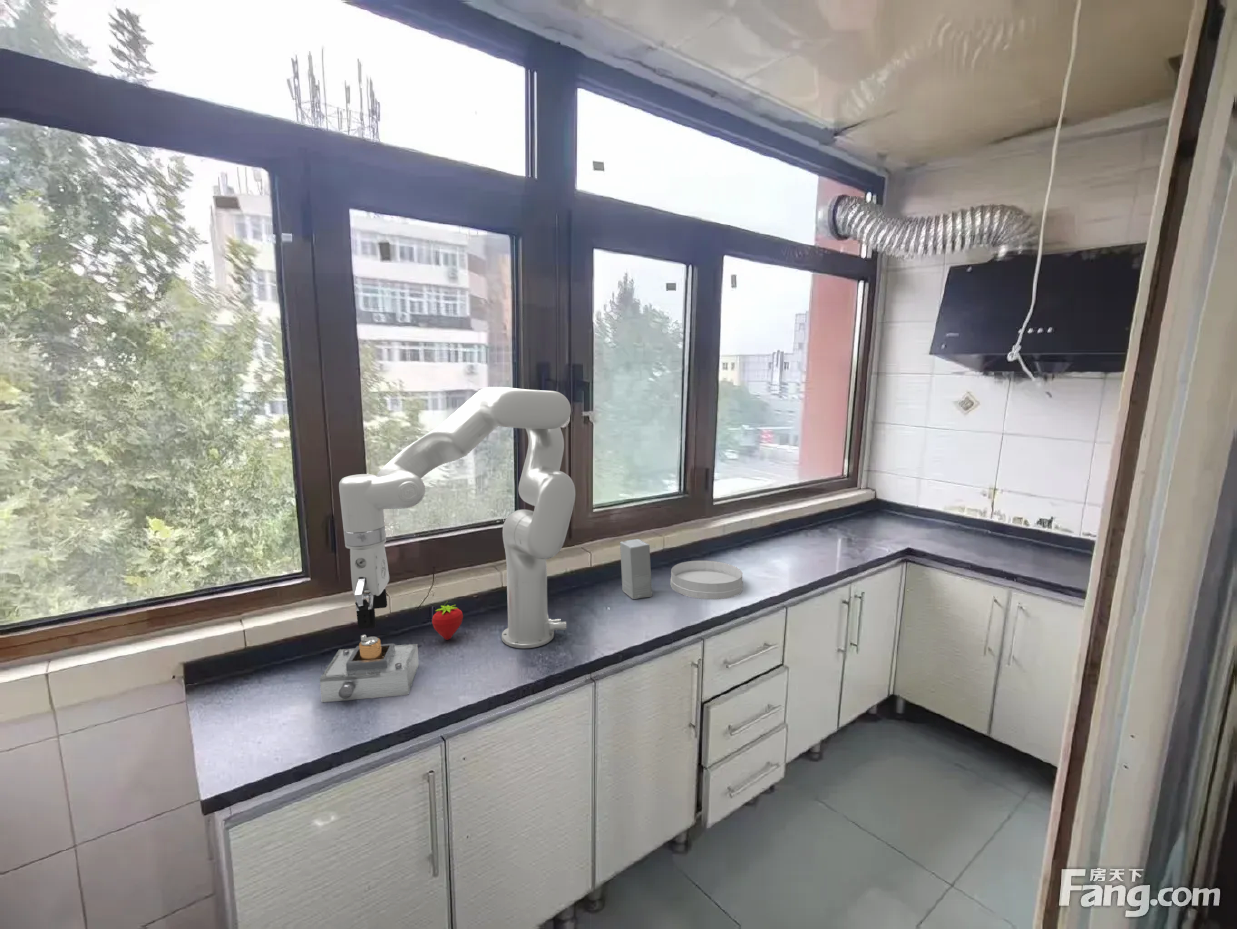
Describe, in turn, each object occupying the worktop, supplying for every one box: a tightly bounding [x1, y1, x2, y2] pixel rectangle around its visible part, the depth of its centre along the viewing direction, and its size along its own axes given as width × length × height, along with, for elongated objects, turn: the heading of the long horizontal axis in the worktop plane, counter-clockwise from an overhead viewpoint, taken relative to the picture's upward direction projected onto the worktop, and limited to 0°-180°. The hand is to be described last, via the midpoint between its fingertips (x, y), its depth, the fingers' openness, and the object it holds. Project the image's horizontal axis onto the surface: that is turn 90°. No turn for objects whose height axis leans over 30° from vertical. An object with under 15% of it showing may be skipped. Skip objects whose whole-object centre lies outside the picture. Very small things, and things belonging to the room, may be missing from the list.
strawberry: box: [431, 600, 464, 641], centre depth 135 cm, size 6×8×10 cm
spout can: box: [358, 634, 382, 661], centre depth 115 cm, size 4×4×10 cm
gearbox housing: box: [319, 643, 420, 703], centre depth 114 cm, size 16×14×6 cm
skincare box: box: [619, 538, 653, 600], centre depth 165 cm, size 8×7×16 cm
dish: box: [669, 560, 744, 600], centre depth 173 cm, size 22×22×5 cm
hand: (373, 617), depth 114 cm, fingers open, 9 cm apart
